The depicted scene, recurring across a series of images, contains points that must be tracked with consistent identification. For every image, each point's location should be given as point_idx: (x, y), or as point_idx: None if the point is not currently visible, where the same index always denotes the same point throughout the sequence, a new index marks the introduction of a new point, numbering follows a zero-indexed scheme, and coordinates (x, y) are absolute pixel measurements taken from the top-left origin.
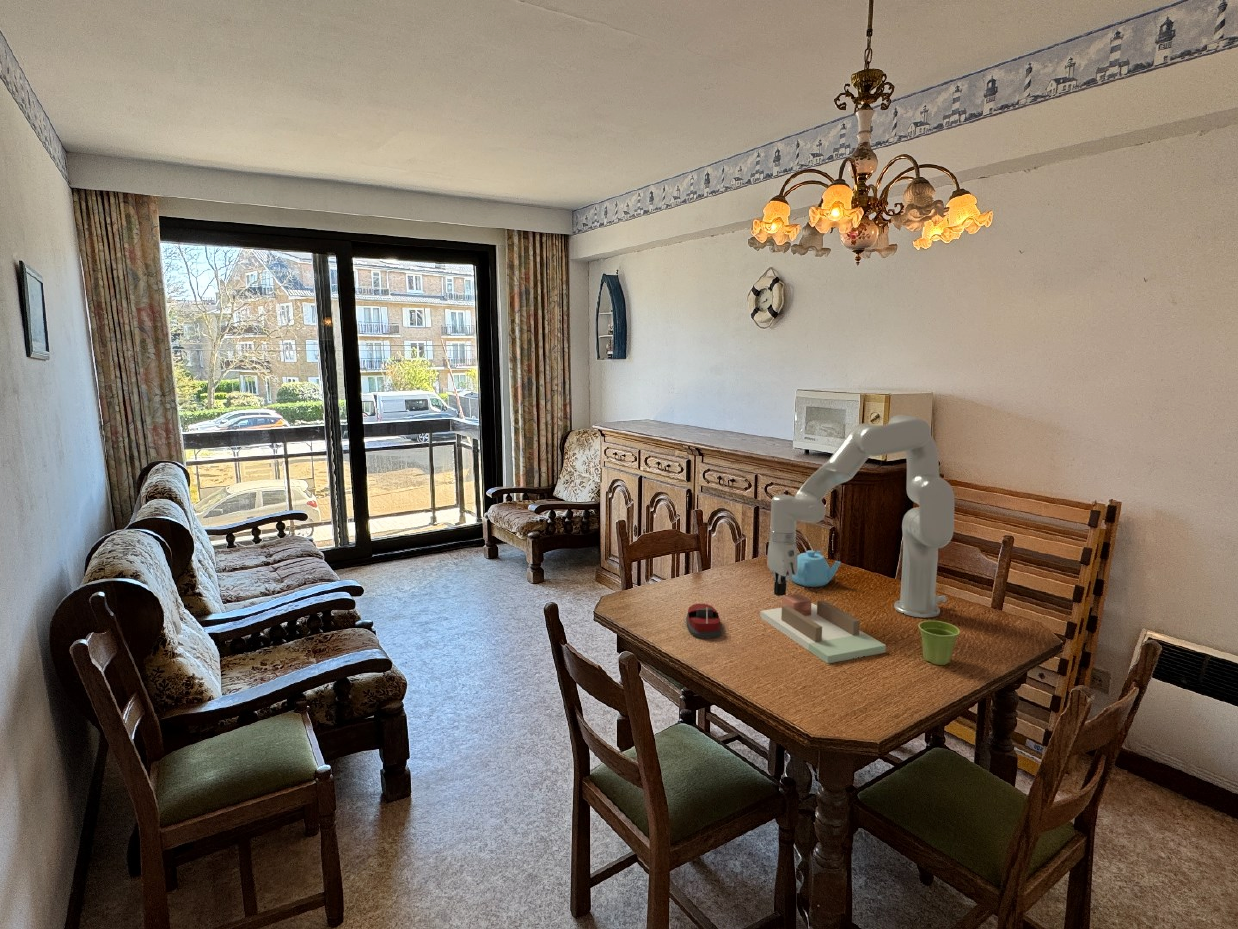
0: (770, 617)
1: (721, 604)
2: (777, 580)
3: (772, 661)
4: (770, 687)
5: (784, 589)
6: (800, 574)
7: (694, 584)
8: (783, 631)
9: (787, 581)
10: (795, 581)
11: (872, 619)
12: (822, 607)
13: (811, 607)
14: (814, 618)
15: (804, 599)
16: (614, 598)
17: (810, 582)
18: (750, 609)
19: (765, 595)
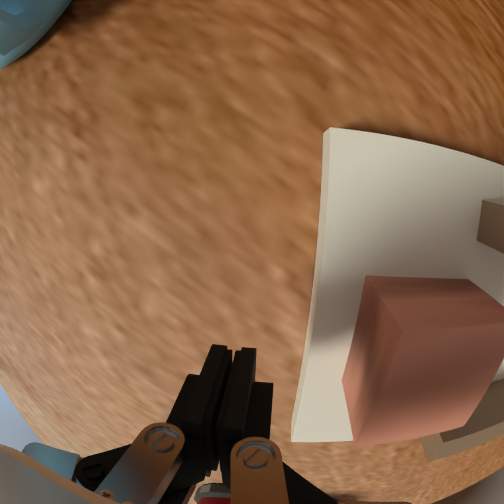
0: None
1: (135, 432)
2: (201, 478)
3: (478, 451)
4: (499, 459)
5: (271, 406)
6: (7, 39)
7: (10, 374)
8: None
9: (281, 460)
10: (16, 58)
11: (492, 17)
12: None
13: (397, 192)
14: (494, 289)
15: (488, 356)
16: None
17: (57, 3)
18: None
19: (64, 255)
